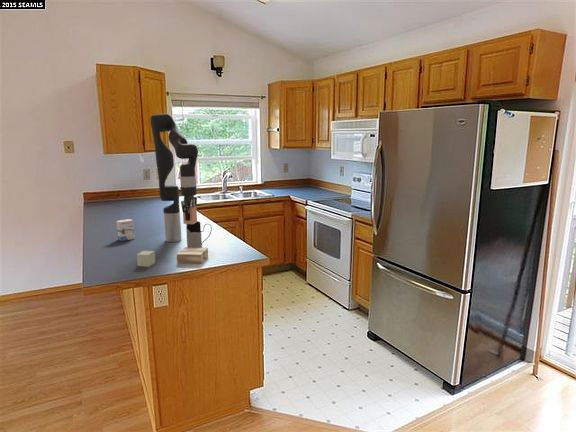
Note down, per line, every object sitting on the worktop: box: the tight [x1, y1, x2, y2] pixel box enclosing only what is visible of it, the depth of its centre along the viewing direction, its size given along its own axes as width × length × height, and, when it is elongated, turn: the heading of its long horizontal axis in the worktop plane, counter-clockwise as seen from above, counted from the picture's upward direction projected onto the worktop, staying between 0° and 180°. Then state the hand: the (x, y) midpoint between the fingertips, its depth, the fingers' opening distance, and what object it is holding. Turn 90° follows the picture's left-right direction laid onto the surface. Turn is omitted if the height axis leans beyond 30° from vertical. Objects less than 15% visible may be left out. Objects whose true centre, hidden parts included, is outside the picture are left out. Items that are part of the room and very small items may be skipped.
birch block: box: [176, 246, 209, 265], centre depth 192 cm, size 12×12×5 cm
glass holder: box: [185, 220, 212, 248], centre depth 211 cm, size 9×14×15 cm, turn 111°
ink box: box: [116, 218, 136, 242], centre depth 229 cm, size 9×5×12 cm, turn 135°
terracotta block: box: [182, 206, 198, 225], centre depth 188 cm, size 5×5×8 cm
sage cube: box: [136, 250, 156, 268], centre depth 185 cm, size 6×6×6 cm
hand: (190, 219), depth 189 cm, fingers closed on terracotta block, 5 cm apart
